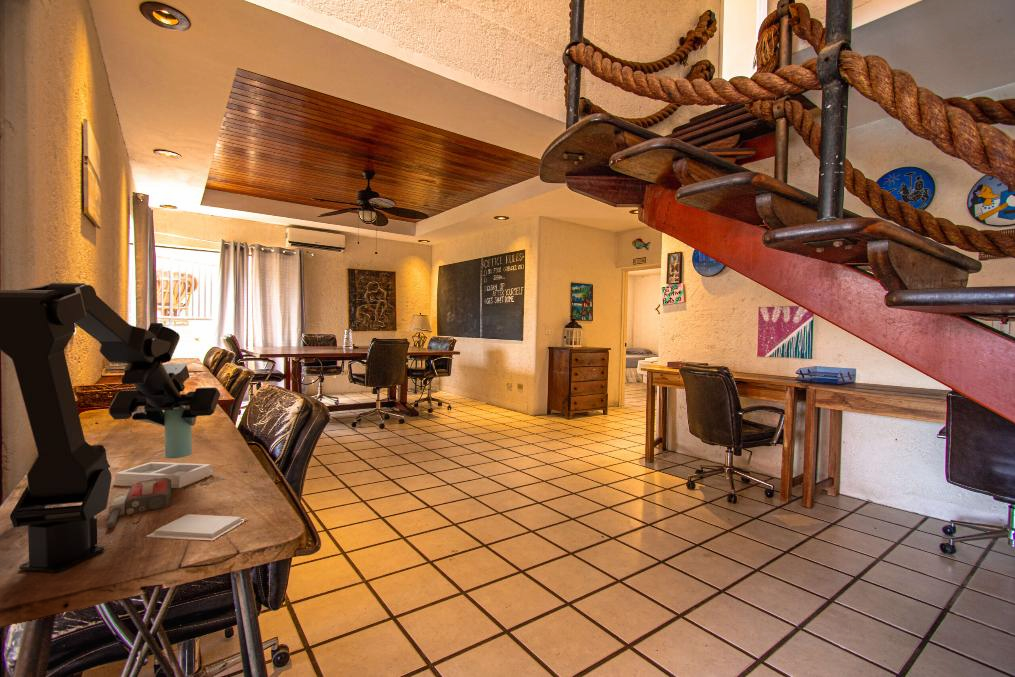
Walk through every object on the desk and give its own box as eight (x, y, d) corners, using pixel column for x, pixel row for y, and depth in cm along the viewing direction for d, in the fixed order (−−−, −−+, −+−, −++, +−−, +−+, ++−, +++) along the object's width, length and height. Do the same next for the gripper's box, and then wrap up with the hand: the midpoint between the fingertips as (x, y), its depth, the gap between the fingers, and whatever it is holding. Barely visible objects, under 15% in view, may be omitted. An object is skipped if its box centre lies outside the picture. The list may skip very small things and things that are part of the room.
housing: (178, 488, 94) (178, 476, 94) (113, 485, 96) (113, 473, 96) (212, 474, 103) (212, 463, 103) (151, 472, 105) (151, 461, 105)
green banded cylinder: (183, 458, 97) (182, 398, 96) (159, 458, 96) (158, 399, 96) (197, 452, 101) (195, 395, 101) (174, 452, 101) (173, 395, 101)
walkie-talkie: (118, 498, 90) (101, 535, 73) (117, 476, 89) (100, 509, 73) (172, 489, 95) (168, 522, 78) (172, 468, 94) (167, 497, 78)
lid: (248, 523, 78) (248, 515, 78) (212, 545, 70) (212, 536, 70) (187, 519, 80) (187, 512, 80) (145, 540, 72) (145, 532, 72)
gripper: (216, 350, 97) (236, 394, 108) (116, 352, 93) (147, 397, 104) (199, 391, 89) (223, 434, 100) (90, 394, 85) (127, 439, 96)
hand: (181, 424), depth 100 cm, fingers closed on green banded cylinder, 5 cm apart
